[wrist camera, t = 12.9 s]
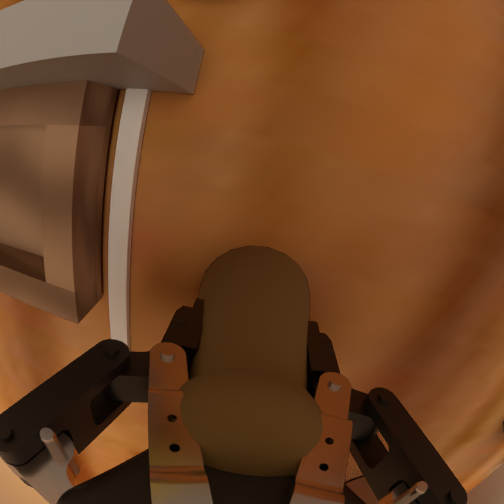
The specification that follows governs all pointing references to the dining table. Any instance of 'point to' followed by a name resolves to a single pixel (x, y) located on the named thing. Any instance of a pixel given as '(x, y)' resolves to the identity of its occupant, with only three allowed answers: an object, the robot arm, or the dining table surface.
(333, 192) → the dining table surface
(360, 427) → the robot arm
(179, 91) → the backstop
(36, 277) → the socket block
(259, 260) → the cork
